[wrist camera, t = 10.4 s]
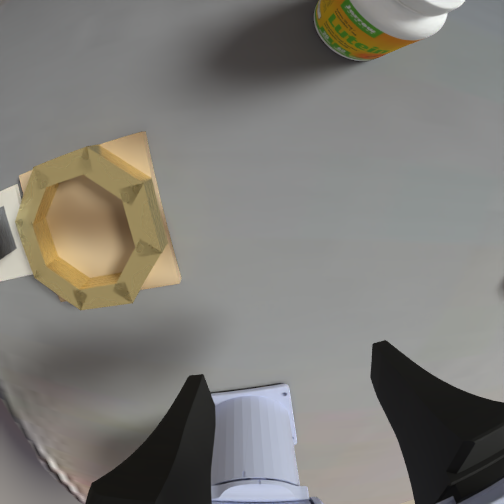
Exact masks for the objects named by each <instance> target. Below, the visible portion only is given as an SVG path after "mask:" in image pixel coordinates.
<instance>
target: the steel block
mask: <svg viewBox="0 0 504 504" xmlns="http://www.w3.org/2000/svg"><path fill="white" fill-rule="evenodd" d="M15 249H17V247H16V244H15V241H14V238H13V235H12V232H11V229H10V226H9V222H8V219H7V216H6V212H5V209H4V206H2V207H0V260H1V259H2V258H4V257H5V256H6V255H8V254H9V253H11V252H12V251H14V250H15Z"/></svg>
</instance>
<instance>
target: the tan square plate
mask: <svg viewBox="0 0 504 504" xmlns="http://www.w3.org/2000/svg"><path fill="white" fill-rule="evenodd" d="M100 146H102V147H103V148H105V149H107V150H108V151H110V152H111V153H113V154H114V155H116V156H118V157H119V158H121V159H122V160H124V161H125V162H127V163H129V164H130V165H132V166H133V167H135V168H136V169H138V170H140V171H141V172H143V173H144V174H146V175H147V176H149V177H151V178H152V181H153V185H154V189H155V194H156V198H157V202H158V206H159V210H160V214H161V218H162V222H163V225H164V229H165V233H166V237H167V241H168V244H167V245H166V247H165V249H164V250H163V252H162V253H161V255H160V256H159V258H158V260H157V261H156V263H155V265H154V266H153V268H152V270H151V272H150V273H149V275H148V277H147V278H146V280H145V282H144V283H143V285H142V287H141V289H140V290H142V289H149V288H155V287H161V286H167V285H173V284H179V283H180V281H181V274H180V271H179V267H178V264H177V260H176V257H175V253H174V249H173V246H172V242H171V238H170V234H169V231H168V227H167V223H166V219H165V215H164V211H163V207H162V203H161V199H160V195H159V191H158V186H157V182H156V178H155V173H154V169H153V164H152V160H151V155H150V151H149V146H148V141H147V136H146V132H139V133H135V134H132V135H129V136H125V137H122V138H119V139H115V140H112V141H109V142H106V143H103V144H100ZM31 173H32V170H31V171H28V172H26V173H24V174H22V175H19V179H20V183H21V187H22V191H23V195H24V192H25V189H26V186H27V184H28V181H29V178H30V175H31ZM46 220H47V223H48V226H49V230H50V233H51V236H52V239H53V242H54V245H55V248H56V251H57V254H58V256H59V257H60V258H62V259H63V260H64V261H66V262H67V263H69V264H70V265H72V266H73V267H75V268H76V269H77V270H79V271H80V272H82V273H83V274H85V275H86V276H88V277H89V278H92V277H98V276H103V275H109V274H115V273H120V272H122V271H123V270H124V268H125V266H126V264H127V262H128V260H129V258H130V256H131V255H132V253H133V251H134V249H135V244H134V241H133V238H132V234H131V231H130V227H129V224H128V220H127V217H126V213H125V209H124V205H123V202H122V200H121V199H120V198H118V197H117V196H115V195H114V194H112V193H111V192H109V191H108V190H106V189H105V188H103V187H101V186H100V185H98V184H97V183H95V182H94V181H92V180H91V179H89V178H88V177H86V176H85V175H80V176H77V177H74V178H71V179H68V180H65V181H63V182H60V184H59V186H58V188H57V191H56V193H55V196H54V198H53V201H52V203H51V206H50V208H49V211H48V214H47V216H46ZM57 295H58V294H57ZM58 297H59V299H60V302H64V301H66V300H65V299H63V298H62V297H61V296H59V295H58Z"/></svg>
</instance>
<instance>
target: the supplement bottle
mask: <svg viewBox="0 0 504 504" xmlns="http://www.w3.org/2000/svg"><path fill="white" fill-rule="evenodd" d="M464 1H465V0H319V1H318V3H317V5H316V7H315V10H314V24H315V28H316V30H317V33H318V35H319V36H320V38H321V39H322V41H323V42H324V43H325V44H326V45H327V46H328V47H329V48H330V49H331V50H333V51H334V52H335V53H337V54H339V55H341V56H343V57H345V58H348V59H351V60H356V61H369V60H373V59H376V58H379V57H381V56H383V55H386V54H388V53H390V52H392V51H395V50H397V49H399V48H402V47H404V46H407V45H409V44H412V43H414V42H417V41H419V40H422V39H425V38H427V37H429V36H431V35H433V34H435V33H436V32H437V31H438V30H440V28H441V27H442V26H443V24H444V22H445V20H446V17H447V13H448V12H450V11H452V10H454V9H456V8H458V7H459V6H461V5H462V4H463V2H464Z"/></svg>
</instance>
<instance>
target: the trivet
mask: <svg viewBox="0 0 504 504" xmlns="http://www.w3.org/2000/svg"><path fill="white" fill-rule="evenodd" d="M21 201H22V199H21V196H20V192H19V188H18V184H16V185H14V186H11V187H9V188H7V189H5V190H2V191H0V207H2V206H4V209H5V212H6V216H7V219H8V222H9V226H10V229H11V232H12V235H13V238H14V241H15V244H16V247H17V249H15V250H14V251H12V252H11V253H9V254H8V255H6V256H5V257H4V258H2V259H1V260H0V281H4V280H9V279H13V278H18V277H22V276H27V275H32V274H33V272H32V270H31V267H30V264H29V262H28V259H27V256H26V254H25V251H24V248H23V245H22V242H21V239H20V236H19V233H18V230H17V227H16V223H15V220H16V217H17V214H18V210H19V207H20V204H21Z"/></svg>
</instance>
